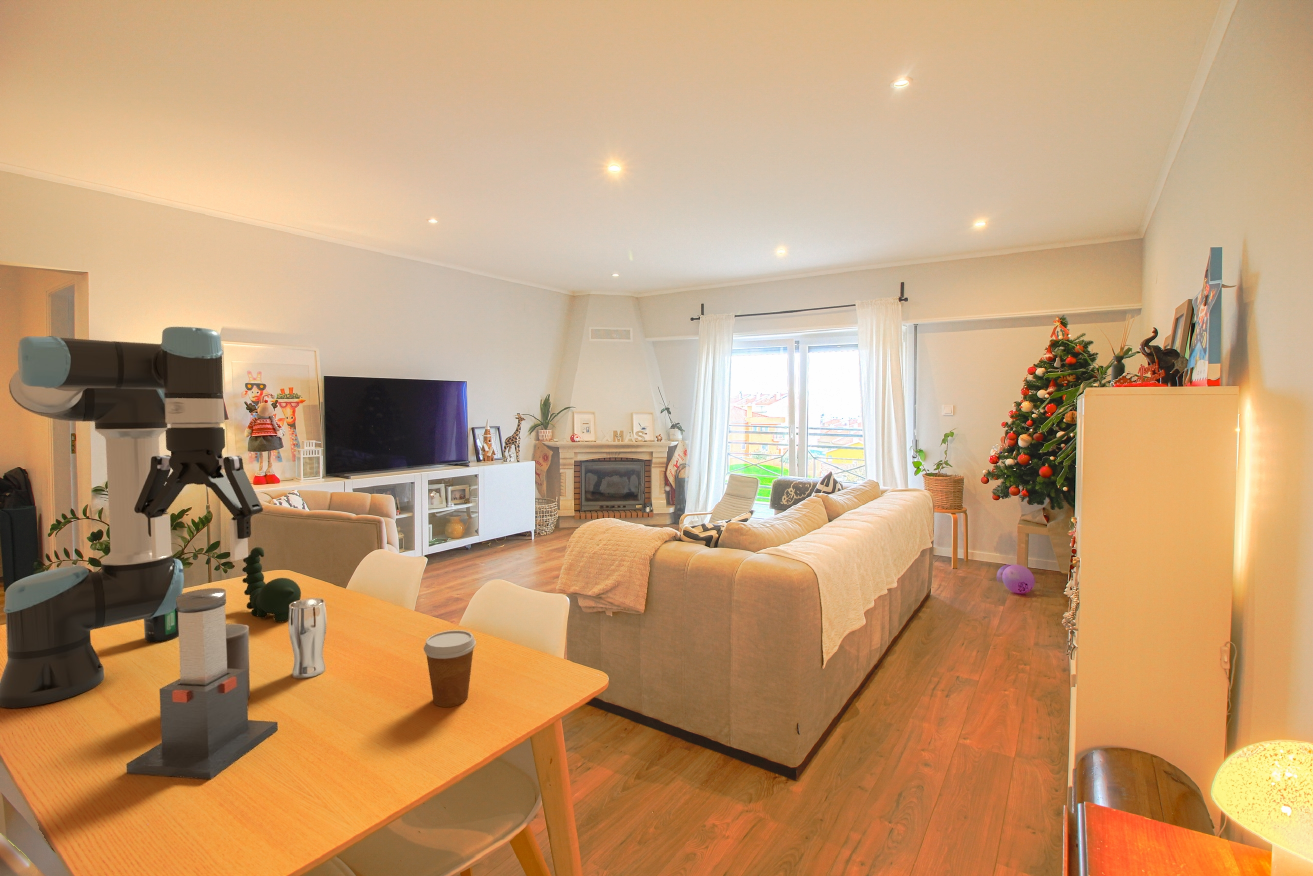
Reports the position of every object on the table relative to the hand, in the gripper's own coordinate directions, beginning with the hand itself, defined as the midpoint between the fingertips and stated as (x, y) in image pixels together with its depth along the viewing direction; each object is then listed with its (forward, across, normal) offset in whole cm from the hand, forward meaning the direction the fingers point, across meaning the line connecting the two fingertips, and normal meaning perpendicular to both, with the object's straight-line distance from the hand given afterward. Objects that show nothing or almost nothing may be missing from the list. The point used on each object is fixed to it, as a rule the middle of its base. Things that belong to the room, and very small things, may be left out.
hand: (200, 557), depth 97 cm
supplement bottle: (+32, -51, +43) cm, 74 cm away
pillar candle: (+32, -11, +15) cm, 37 cm away
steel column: (+30, 0, 0) cm, 30 cm away
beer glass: (+32, -3, +29) cm, 43 cm away
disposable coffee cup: (+32, +32, +21) cm, 50 cm away
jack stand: (+32, 0, 0) cm, 32 cm away
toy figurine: (+32, -36, +60) cm, 77 cm away
